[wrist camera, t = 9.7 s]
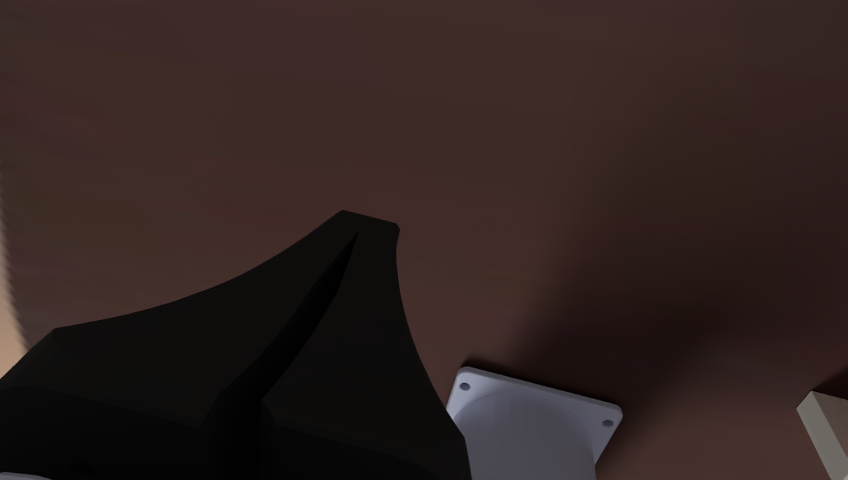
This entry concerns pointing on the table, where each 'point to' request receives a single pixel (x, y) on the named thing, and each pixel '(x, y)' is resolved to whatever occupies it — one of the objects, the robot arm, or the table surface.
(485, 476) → the robot arm
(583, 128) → the table surface
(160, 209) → the table surface
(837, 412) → the box
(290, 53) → the table surface
